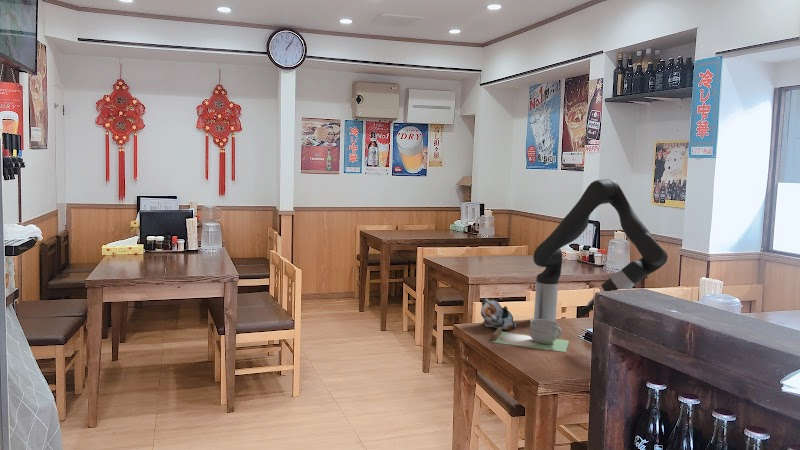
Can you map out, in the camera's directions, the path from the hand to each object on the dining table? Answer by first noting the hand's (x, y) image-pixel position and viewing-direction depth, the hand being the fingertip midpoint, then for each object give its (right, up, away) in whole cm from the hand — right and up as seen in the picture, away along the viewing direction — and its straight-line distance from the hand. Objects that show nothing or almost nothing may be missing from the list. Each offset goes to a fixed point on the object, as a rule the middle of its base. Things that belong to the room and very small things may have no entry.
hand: (580, 314), depth 229 cm
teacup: (-12, -12, +5) cm, 18 cm away
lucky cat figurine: (-27, -9, +26) cm, 38 cm away
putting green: (-17, -11, +7) cm, 22 cm away
